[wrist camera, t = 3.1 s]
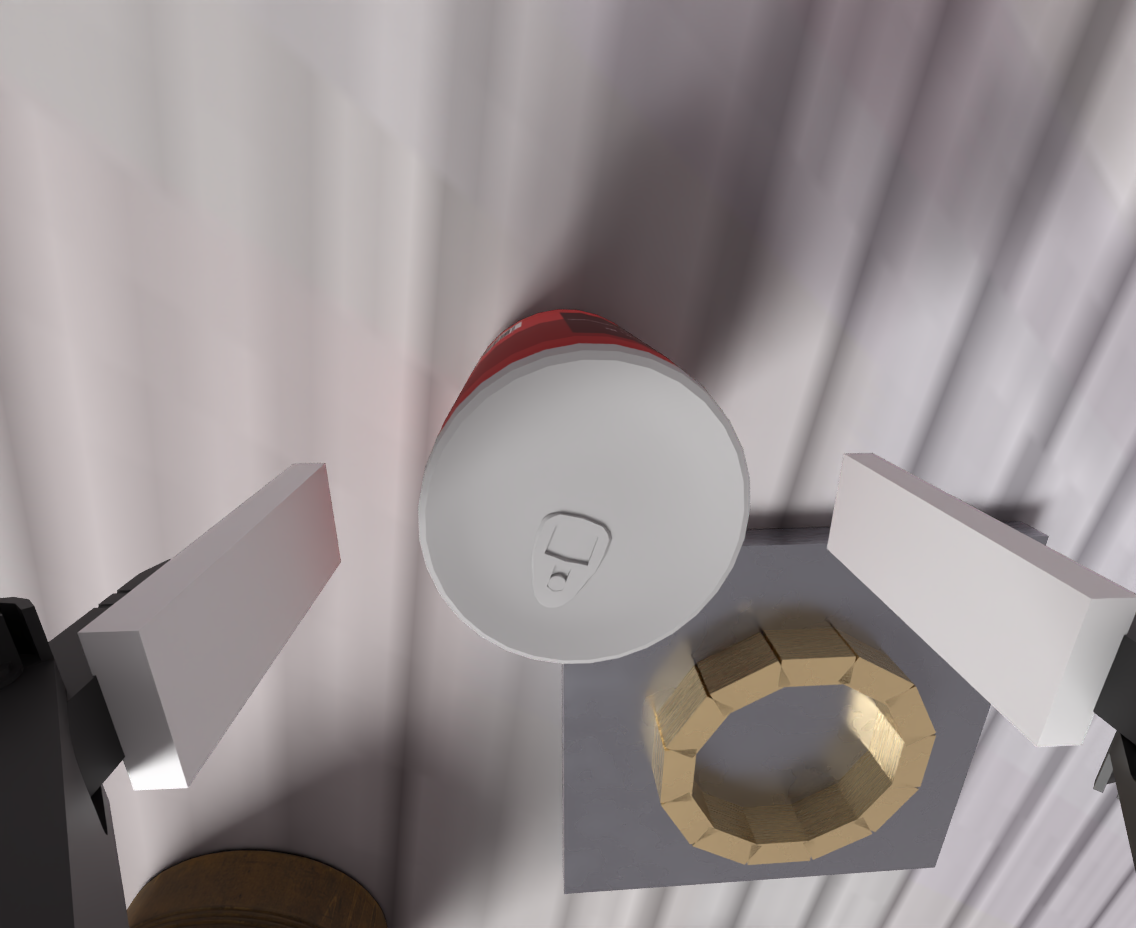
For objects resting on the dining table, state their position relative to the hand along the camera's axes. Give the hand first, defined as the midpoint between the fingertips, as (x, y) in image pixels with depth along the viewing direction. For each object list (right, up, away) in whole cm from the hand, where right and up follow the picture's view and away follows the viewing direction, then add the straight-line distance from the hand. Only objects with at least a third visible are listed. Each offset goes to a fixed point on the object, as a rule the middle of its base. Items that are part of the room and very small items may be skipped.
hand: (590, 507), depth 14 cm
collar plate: (+10, -12, +15) cm, 22 cm away
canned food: (-1, +4, +9) cm, 10 cm away
